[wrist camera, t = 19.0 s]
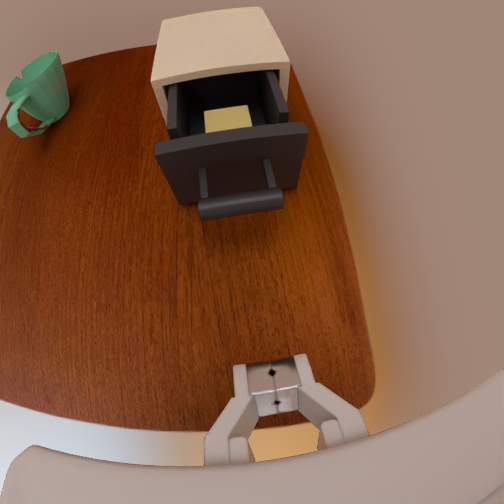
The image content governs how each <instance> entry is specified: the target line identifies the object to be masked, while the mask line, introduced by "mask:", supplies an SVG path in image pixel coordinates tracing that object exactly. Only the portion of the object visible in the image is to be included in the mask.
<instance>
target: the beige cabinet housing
mask: <svg viewBox="0 0 504 504" xmlns="http://www.w3.org/2000/svg"><path fill="white" fill-rule="evenodd" d="M290 62H291V61H290V59H289V57H288V55H287V53H286V51H285V49H284V48H283V46H282V44H281V42H280V40H279V38H278V36H277V34H276V33H275V31H274V29H273V27H272V25H271V24H270V22H269V20H268V18H267V17H266V15H265V13H264V11H263V10H262V8H261V7H244V8H233V9H224V10H217V11H208V12H202V13H196V14H190V15H185V16H181V17H176V18H171V19H166V20H163V21H162V25H161V29H160V34H159V39H158V43H157V48H156V53H155V58H154V64H153V70H152V76H151V84H152V87H153V89H154V92H155V95H156V98H157V100H158V103H159V106H160V109H161V111H162V114H163V117H164V119H165V122H166V125H167V111H168V93H169V84H173V83H177V82H182V81H187V80H192V79H198V78H204V77H210V76H216V75H223V74H230V73H238V72H248V71H258V70H272V69H273V70H274V72H275V75H276V77H277V80H278V83H279V85H280V88H281V90H282V93H283V96H284V98H285V101H286V103H287V93H288V83H289V73H290Z"/></svg>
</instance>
